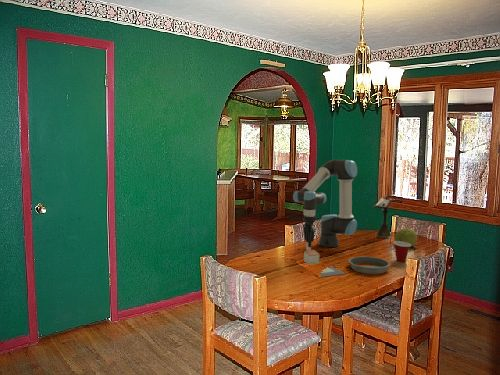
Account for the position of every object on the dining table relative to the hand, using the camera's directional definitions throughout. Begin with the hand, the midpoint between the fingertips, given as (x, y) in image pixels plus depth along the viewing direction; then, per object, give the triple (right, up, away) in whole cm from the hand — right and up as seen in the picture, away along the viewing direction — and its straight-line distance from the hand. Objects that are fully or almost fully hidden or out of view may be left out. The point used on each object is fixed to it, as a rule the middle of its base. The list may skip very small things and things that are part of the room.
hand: (308, 251), depth 273 cm
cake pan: (+36, -9, -10) cm, 39 cm away
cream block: (+1, -7, -2) cm, 7 cm away
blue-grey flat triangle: (+4, -9, -9) cm, 13 cm away
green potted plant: (+78, -3, +42) cm, 89 cm away
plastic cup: (+62, -7, +5) cm, 63 cm away
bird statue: (+70, +1, +70) cm, 99 cm away
